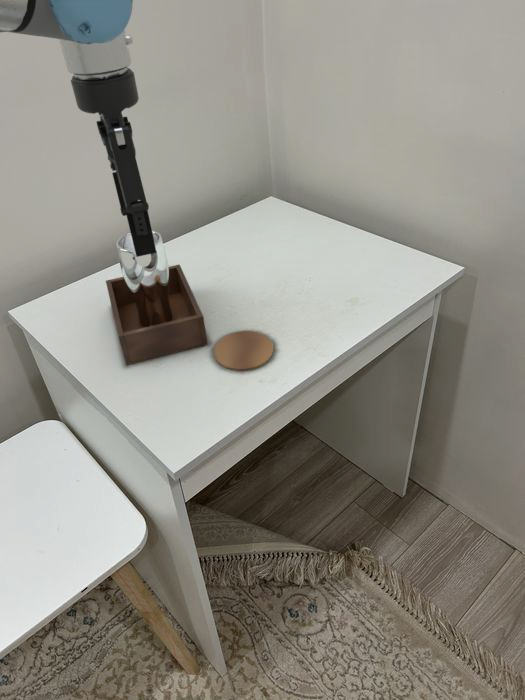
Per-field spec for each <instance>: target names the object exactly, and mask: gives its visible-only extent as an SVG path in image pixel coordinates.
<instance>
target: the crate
mask: <svg viewBox="0 0 525 700" xmlns="http://www.w3.org/2000/svg"><path fill="white" fill-rule="evenodd" d="M168 268H169V299H170V305H171V308H172V310H173V312H174V315H175V317H176V320H174V321H170V322H166V323H161V324H157V325H153V326H149V327H145V328H141V329H140V328H139V326H138V311H137V307H136V304H135V302H134V300H133V298H132V295H131V293H130V291H129V289H128V287H127V285H126V282H125V280H124V277H123V276H120V277H115V278H112V279H107V280H105V285H106V289H107V293H108V297H109V302H110V306H111V310H112V315H113V319H114V325H115V328H116V332H117V337H118V340H119V344H120V347H121V350H122V354H123V358H124V362H125V365H126V366H129V365H134V364H137V363H141V362H146V361H149V360H152V359H156V358H160V357H164V356H169V355H172V354H176V353H181V352H184V351H188V350H192V349H196V348H200V347H204V346H208V344H209V343H208V337H207V331H206V325H205V324H206V323H205V319H204V315H203V313H202V311H201V309H200V308H201V307H200V306H199V304H198V301H197V299H196V297H195V295H194V293H193V291H192V288H191V286H190V284H189V282H188V279H187V278H186V275H185V273H184V271H183V269H182V266H181V265H180V264H176V265H169V266H168Z"/></svg>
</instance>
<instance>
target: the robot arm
mask: <svg viewBox="0 0 525 700" xmlns="http://www.w3.org/2000/svg"><path fill="white" fill-rule="evenodd" d="M133 1H134V0H0V33H12V34H20V35H26V36H33V37H35V36H36V37H42V38H49V39H57V40H59V44H60V48H61V52H62V55H63V58H64V63H65V66H66V70H67V72H69V74H72V75H73V76H72V77H71V79H70V84H71V88H72V91H73V94H74V98H75V102H76V106H77V108H78V109H79V110H80V111H81V112H84V113H86V114H94V115H95V114H98V116H99V120H97V121H96V127H97V130H98V133H99V135H100V138H101V139H100V140H101V141H102V144H103V146H105V150H106V153H107V154H106V155H107V160H108V162H109V163H110V165H109V166H110V169H111V170H112V171H113V172H111V173H112V178H113V181H114V186H115V191H116V195H117V198H118V202H119V206H120V214H121V215H122V216H123V217H125V216H126V219H127V224H128V227H129V233H130V232H131V236H132V240H133V245H134V249H135V253H136V256H137V257H139V256H143V255H148V254H152V253H157V252H156V248H155V243H154V238H153V234H152V231H153V230H152V225H151V220H150V215H149V208H150V206H149V203H148V202H147V198H146V194H145V189H144V186H143V181H142V178H141V174H140V173H141V172H140V170H139V166H138V162H137V157H136V156H137V154H136V153H137V152H136V151H137V150H136V147H135V144H134V139H133V128H132V125H131V122H130V121H129V119H128V116H123V113H122V112H123V111H125V109H130V108H132V107H133V106H134V107H135V105H136V104H138V102H139V99H140V97H139V92H138V86H137V82H136V76H135V72H134V71H132V69H131V68H129V67H130V66H131V63H132V59H131V58H132V57H131V54H130V53H131V52H130V49H129V48H128V46H129V45H132V44H133V37H132V35H131V34H127V35H126V28H127V26H128V24H129V22H130V20H131V16H132V13H133Z"/></svg>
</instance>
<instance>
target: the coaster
mask: <svg viewBox="0 0 525 700" xmlns="http://www.w3.org/2000/svg"><path fill="white" fill-rule="evenodd" d="M213 354H214V355H213V356H214V359H215V361H216V362H217V363H218V364H219V365H220V366H222V368H223V367H224V368H226V369H227V370H231V371H237V372H239V371H241V372H243V371H250V370H255V369H257V368H258V369H259V368H260V367H262V366H263V365H265V364H267V363H268V362H269V361H270V360H271V358H272V357H273V355H274V344H273V342H272V341H271V339H270V338H269V337H268V336H266V335H265V334H262V332H261V333H260V332H257V331H253V330H252V331H250V330H242V331H235V332H232V333H228V334H226V335H224V336H223V337H222V338H221V339H219V341H217V343H216V344H215V346H214V349H213Z"/></svg>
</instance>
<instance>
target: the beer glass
mask: <svg viewBox="0 0 525 700" xmlns="http://www.w3.org/2000/svg"><path fill="white" fill-rule="evenodd" d="M152 234H153V238H154V243H155V248H156V252H157V253H152V254H148V255H143V256H139V257H137V256H136V253H135V249H134V245H133V240H132V236H131V232H130V231H129V232H127V233H125V234H123V235H122V236H120V237H119V238H118V239H117V241H116V243H115V244H116V249H117V255H118V256H117V257H118V260H119V266H120V270H121V273H122V277H124V280H125V282H126V285H127V287H128V289H129V291H130V293H131V295H132V298H133V300H134V302H135V304H136V307H137V311H138V326H139V328H140V329H141V328H145V327H149V326H153V325H157V324H161V323H166V322H170V321H174V320H176V317H175V315H174V312H173V310H172V308H171V305H170V299H169V268H168V267H169V262H168V257H167V253H166V250H165V246H164V243H163V239H162V235H161V234H160V233H159V232H157V231H156V230H152Z"/></svg>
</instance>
